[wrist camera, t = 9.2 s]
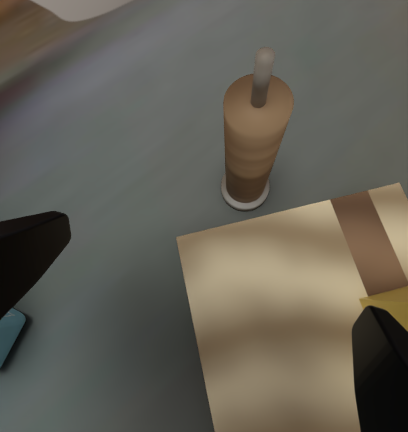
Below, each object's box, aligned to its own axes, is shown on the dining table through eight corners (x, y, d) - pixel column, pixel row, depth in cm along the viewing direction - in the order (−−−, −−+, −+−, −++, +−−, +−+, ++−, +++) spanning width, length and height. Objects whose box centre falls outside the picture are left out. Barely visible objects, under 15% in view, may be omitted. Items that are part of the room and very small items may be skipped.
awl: (273, 205, 22) (338, 83, 9) (227, 216, 22) (226, 112, 9) (260, 163, 23) (300, 2, 10) (216, 174, 23) (200, 29, 10)
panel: (512, 447, 16) (534, 459, 15) (232, 507, 17) (233, 523, 15) (390, 188, 21) (399, 182, 20) (178, 239, 22) (176, 237, 21)
